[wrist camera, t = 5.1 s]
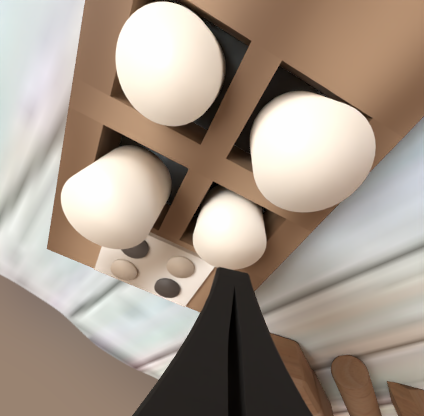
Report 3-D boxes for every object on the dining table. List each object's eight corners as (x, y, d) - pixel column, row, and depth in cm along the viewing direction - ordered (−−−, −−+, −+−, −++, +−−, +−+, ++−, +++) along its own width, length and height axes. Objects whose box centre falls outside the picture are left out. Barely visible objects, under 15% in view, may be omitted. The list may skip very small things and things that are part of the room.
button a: (240, 49, 11) (241, 42, 8) (204, 125, 13) (193, 143, 10) (163, 0, 10) (132, -26, 8) (137, 88, 12) (104, 95, 10)
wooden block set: (305, 465, 27) (248, 394, 20) (296, 405, 32) (247, 329, 25) (488, 468, 22) (507, 373, 14) (444, 396, 27) (441, 297, 19)
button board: (433, 50, 11) (505, 44, 8) (226, 291, 21) (224, 328, 18) (157, -152, 9) (113, -265, 6) (73, 224, 19) (41, 253, 16)
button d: (273, 200, 15) (281, 233, 12) (241, 241, 17) (241, 279, 14) (218, 171, 14) (213, 198, 11) (192, 218, 16) (181, 251, 13)
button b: (183, 167, 12) (164, 199, 10) (157, 221, 14) (136, 261, 12) (111, 131, 12) (67, 152, 9) (95, 192, 14) (55, 226, 11)
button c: (357, 119, 10) (404, 140, 7) (300, 189, 12) (318, 228, 9) (282, 71, 10) (300, 73, 7) (234, 153, 12) (232, 183, 9)
